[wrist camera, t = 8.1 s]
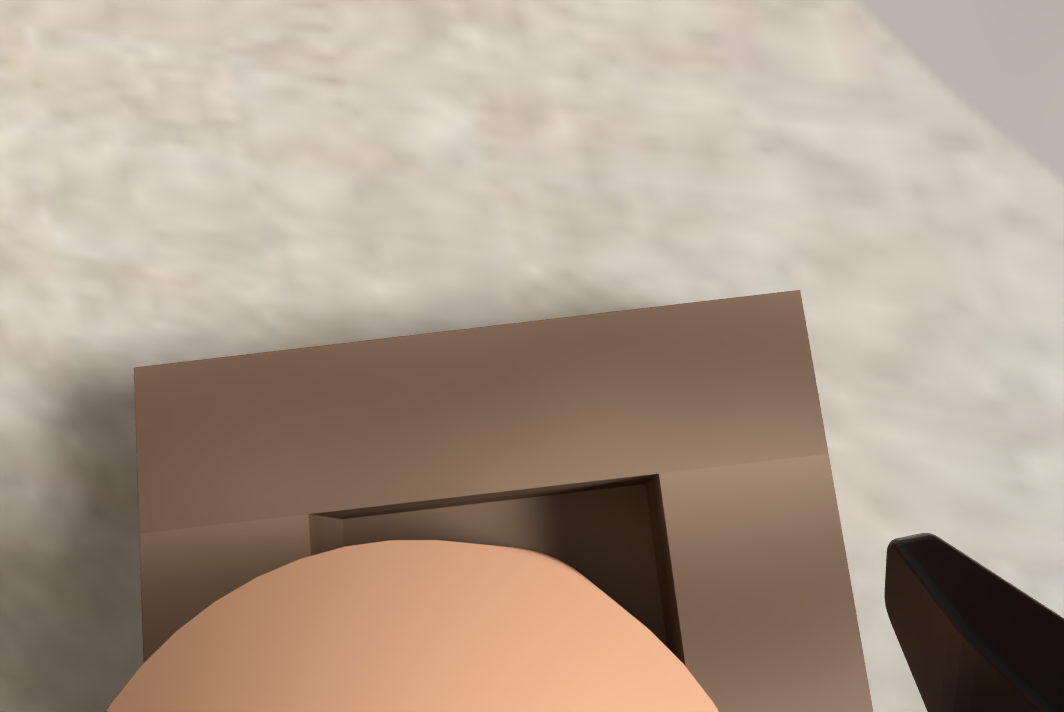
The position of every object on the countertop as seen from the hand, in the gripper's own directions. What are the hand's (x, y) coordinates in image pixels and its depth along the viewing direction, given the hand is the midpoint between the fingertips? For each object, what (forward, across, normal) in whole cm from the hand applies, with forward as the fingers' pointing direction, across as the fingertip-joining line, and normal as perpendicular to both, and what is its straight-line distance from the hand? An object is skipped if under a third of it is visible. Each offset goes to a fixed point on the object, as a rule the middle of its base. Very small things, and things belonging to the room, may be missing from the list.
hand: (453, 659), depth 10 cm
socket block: (+5, 0, +7) cm, 9 cm away
